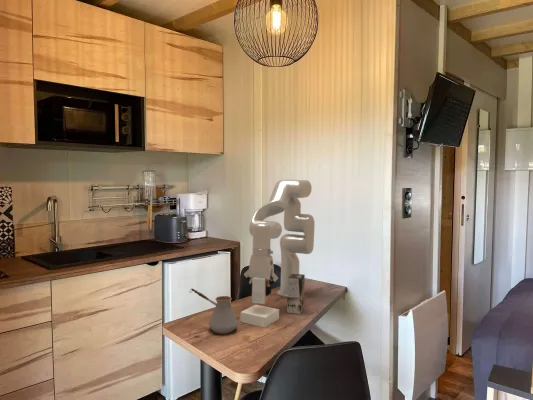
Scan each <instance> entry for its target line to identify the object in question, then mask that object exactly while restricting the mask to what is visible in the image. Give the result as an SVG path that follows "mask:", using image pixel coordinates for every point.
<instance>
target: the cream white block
mask: <svg viewBox="0 0 533 400" xmlns="http://www.w3.org/2000/svg"><path fill="white" fill-rule="evenodd" d="M279 319H280V309H279V308H274V307H269V306H265V305H260V304H257V303H254V305H252V306H250V307H248V308H246V309H243V310H242V311H241V312H240V323H244V324H249V325H253V326H257V327H261V328H267V327H268V326H269V325H270V326H271V323H272V324H273V323H275V322H276V321H278V320H279Z"/></svg>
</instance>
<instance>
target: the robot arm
mask: <svg viewBox="0 0 533 400" xmlns="http://www.w3.org/2000/svg"><path fill="white" fill-rule="evenodd" d="M311 192H312V184H311V181H310V180H306V179H305V180H304V179H280V180H277V182H276V183H275V185H274V187H273V190H272V192H271V195H270V197H269V201H267V202H266V203H264V204H263V205H262V206H260V207H259V208H258V209H256V210H255V212H254V214H253V216H252V218H251V220H250V224H249V226H248V229H249V230H248V231H249V234H250V236H251V237H252V254H251V255H250V258H249V266H248V269H247V270H246V271H245V272H244V273H243V276H244V277H245V278H246V280H247V281H248V283H249V291H250V294H252V279H253V278H254V277H257V278H264V279H266V284H267V286H266V296H268V297H269V296H270V295H271V293H272V286H273V284H275V283H276V282H277V281H278V280H279V277H278V275H277V274H276V273H275V270H274V259H273V254H274V250H272V249H271V239H277V238H279V237H280V239H279V248H280V257H281V261H280V262H281V263H280V289H278V290H277V295H278V296H280V297H284V298H288V278H289V277H290V275H291V274H300V258H299V257H298V255H297V254H304V255H310V254H312V253H313V251H314V244H315V219H314V216H313V215H311V214H308V213H302V212H301V211H302V210H301V209H302V204H301V202H300V199H305V198H308V197H310V195H311ZM281 213H283V227H284V230H286V231H288V232H293V233H286V234H283V235H282V236H281V234H282V232H283V228H282V225H281V223H280V222H278V221H273V220H265V219H267V218H270V217H271V216H276V215H279V214H281ZM294 232H295V233H303V234H294Z"/></svg>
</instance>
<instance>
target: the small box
mask: <svg viewBox="0 0 533 400" xmlns="http://www.w3.org/2000/svg"><path fill="white" fill-rule="evenodd" d="M266 286H267V284H266V279H264V278H257V277H254V278H253V279H252V293H251V303H252V304H259V305H260V304H262V305H265V304H266V302H267V301H268V300H269V295H268V296H266Z"/></svg>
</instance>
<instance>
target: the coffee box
mask: <svg viewBox="0 0 533 400" xmlns="http://www.w3.org/2000/svg"><path fill="white" fill-rule="evenodd" d="M305 276H306V275H305V274H301V273H299V274H291V275H290V277H289V278H288V297H287V304H286V305H287V306H286V307H287V308H286V313H288V314H295V315H301V313H302V312H303V310H304V308H305V307H304V306H305V281H306V280H305Z"/></svg>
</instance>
